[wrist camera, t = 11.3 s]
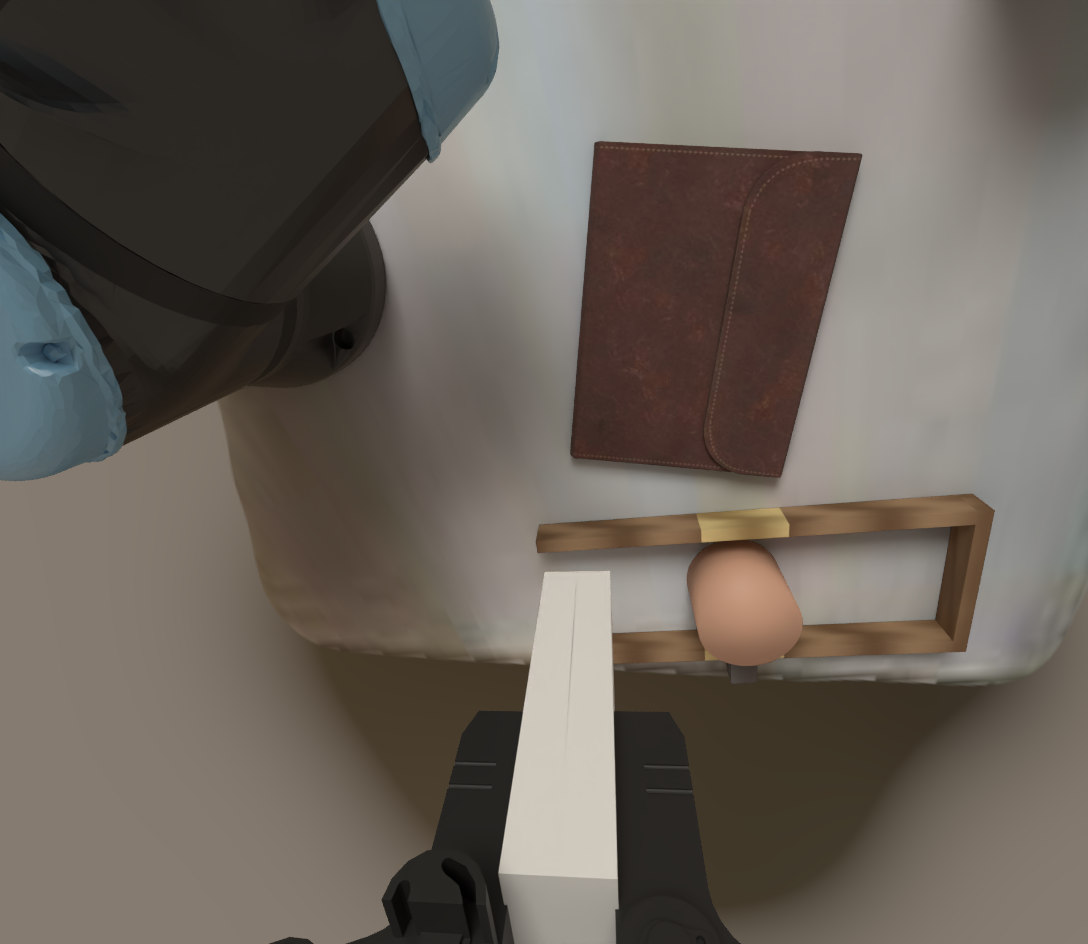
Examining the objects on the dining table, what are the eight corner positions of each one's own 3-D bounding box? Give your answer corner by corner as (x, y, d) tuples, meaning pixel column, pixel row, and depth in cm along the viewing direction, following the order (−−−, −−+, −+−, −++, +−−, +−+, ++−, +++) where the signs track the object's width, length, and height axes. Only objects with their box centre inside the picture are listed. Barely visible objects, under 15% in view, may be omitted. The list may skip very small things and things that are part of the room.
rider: (688, 615, 47) (699, 667, 41) (684, 542, 44) (695, 588, 38) (777, 610, 46) (800, 664, 40) (779, 535, 43) (804, 582, 37)
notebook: (570, 449, 42) (569, 459, 40) (595, 144, 34) (594, 139, 32) (777, 467, 41) (785, 478, 39) (854, 157, 33) (868, 153, 31)
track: (562, 666, 50) (560, 688, 48) (539, 524, 44) (535, 541, 42) (942, 654, 46) (960, 677, 43) (972, 493, 40) (994, 510, 38)
